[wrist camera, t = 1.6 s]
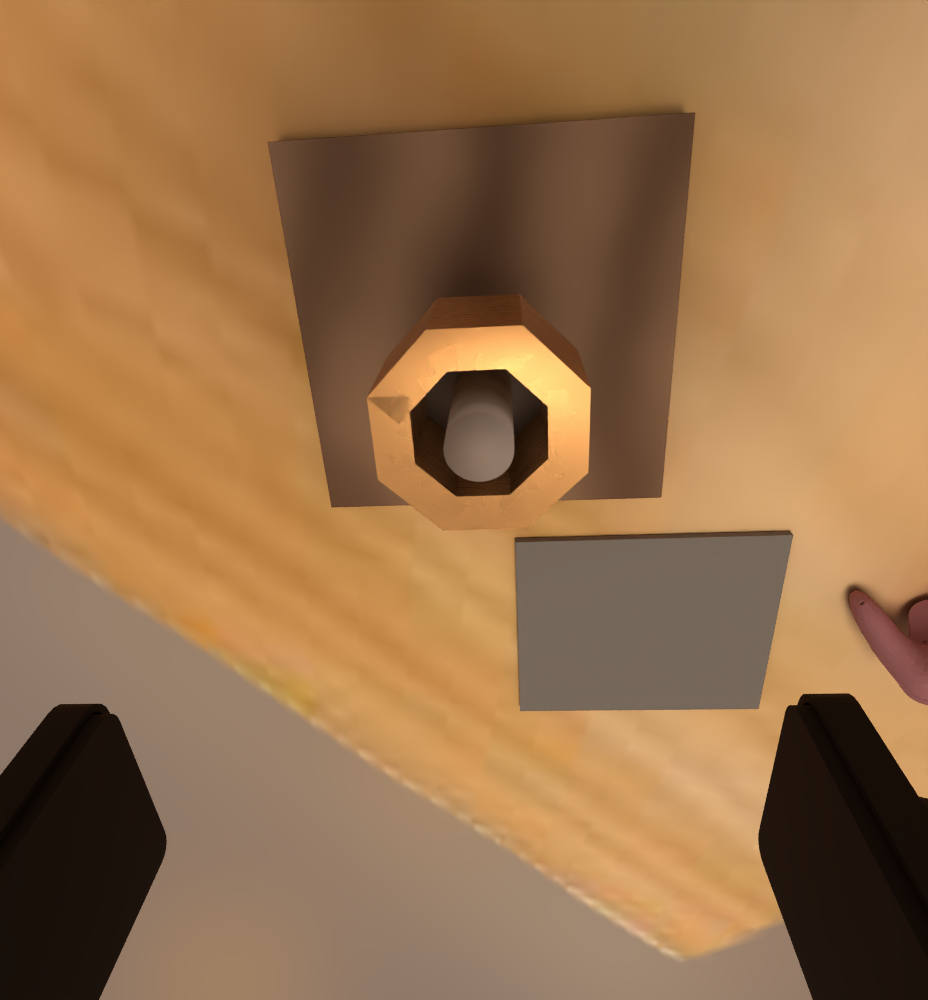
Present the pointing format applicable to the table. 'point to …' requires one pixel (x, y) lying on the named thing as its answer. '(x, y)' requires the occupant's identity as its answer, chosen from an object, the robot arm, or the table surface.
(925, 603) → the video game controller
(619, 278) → the post stand
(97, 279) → the table surface
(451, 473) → the wooden ring
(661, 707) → the rubber mat
